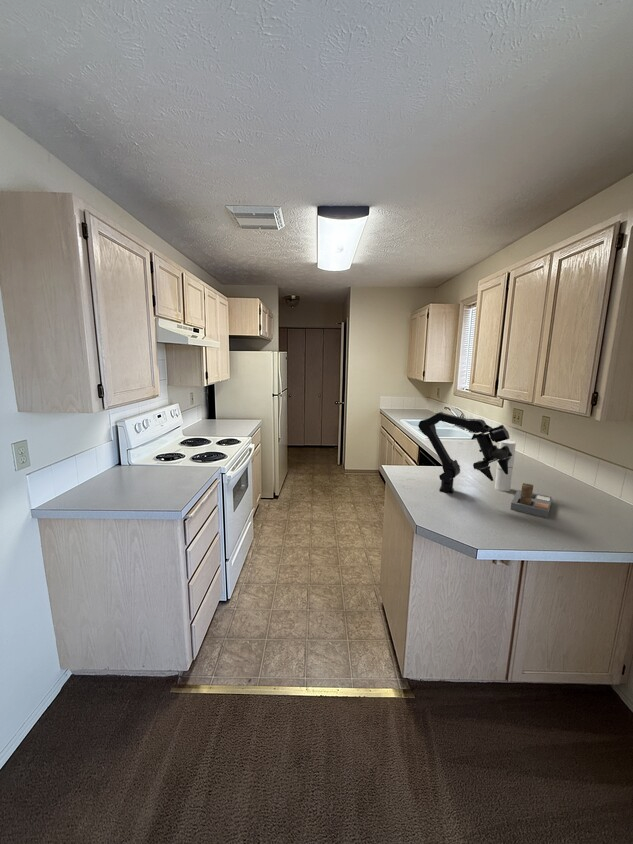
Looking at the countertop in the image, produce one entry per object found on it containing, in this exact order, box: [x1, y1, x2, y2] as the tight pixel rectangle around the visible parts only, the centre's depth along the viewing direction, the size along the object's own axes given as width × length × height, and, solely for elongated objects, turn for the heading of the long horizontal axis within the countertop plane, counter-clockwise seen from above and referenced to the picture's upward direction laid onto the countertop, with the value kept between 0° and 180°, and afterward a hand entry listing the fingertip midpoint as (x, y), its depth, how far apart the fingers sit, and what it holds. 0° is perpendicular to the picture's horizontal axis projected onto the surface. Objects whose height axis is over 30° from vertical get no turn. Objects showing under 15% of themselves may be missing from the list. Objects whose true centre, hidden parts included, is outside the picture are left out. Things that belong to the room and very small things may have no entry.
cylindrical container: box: [494, 439, 517, 492], centre depth 178 cm, size 7×7×25 cm
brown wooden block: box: [520, 482, 534, 506], centre depth 155 cm, size 4×4×11 cm
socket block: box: [510, 489, 553, 519], centre depth 159 cm, size 14×20×3 cm
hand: (499, 477), depth 159 cm, fingers open, 9 cm apart
